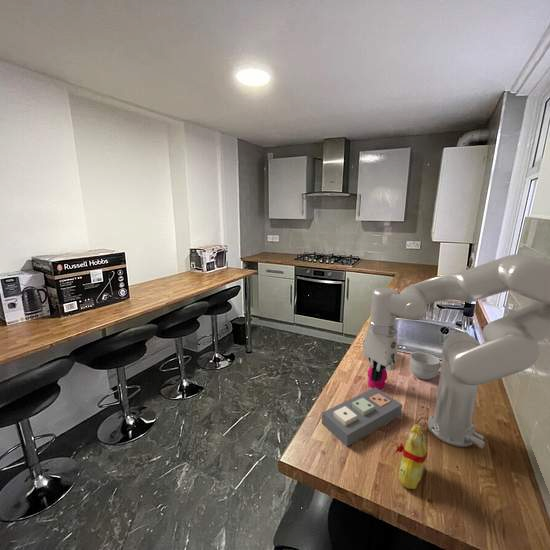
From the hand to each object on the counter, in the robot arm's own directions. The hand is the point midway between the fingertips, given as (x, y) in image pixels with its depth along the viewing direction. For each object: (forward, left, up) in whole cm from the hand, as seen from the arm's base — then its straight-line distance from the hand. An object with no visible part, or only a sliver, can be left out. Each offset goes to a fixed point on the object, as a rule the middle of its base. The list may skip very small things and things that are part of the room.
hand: (376, 379), depth 96 cm
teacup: (+3, -35, -13) cm, 37 cm away
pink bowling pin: (+10, -13, -13) cm, 21 cm away
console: (0, +6, -12) cm, 14 cm away
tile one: (0, +14, -10) cm, 17 cm away
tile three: (0, -2, -12) cm, 12 cm away
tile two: (0, +6, -10) cm, 12 cm away
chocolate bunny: (-20, +11, -13) cm, 26 cm away
